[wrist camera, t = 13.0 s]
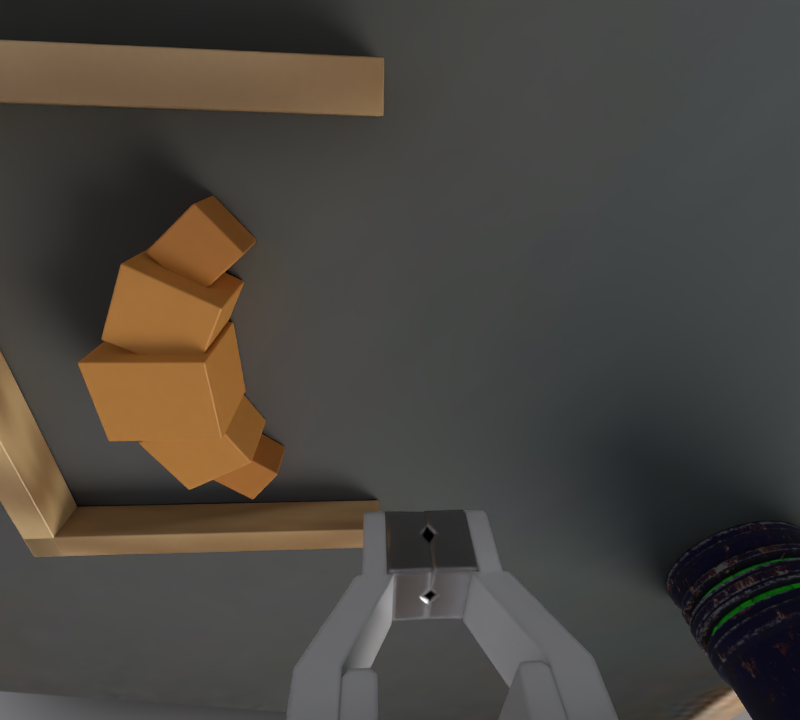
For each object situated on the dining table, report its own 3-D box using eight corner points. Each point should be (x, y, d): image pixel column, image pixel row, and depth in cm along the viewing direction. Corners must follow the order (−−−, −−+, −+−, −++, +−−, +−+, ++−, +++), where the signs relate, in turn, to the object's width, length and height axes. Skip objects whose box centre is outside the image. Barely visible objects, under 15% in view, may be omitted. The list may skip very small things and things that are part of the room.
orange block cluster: (88, 192, 15) (15, 209, 12) (251, 195, 16) (220, 214, 13) (176, 472, 22) (143, 529, 19) (288, 470, 23) (274, 526, 19)
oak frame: (-203, 39, 13) (-294, 25, 11) (382, 65, 14) (384, 56, 12) (59, 525, 24) (34, 557, 22) (378, 517, 25) (379, 547, 23)
